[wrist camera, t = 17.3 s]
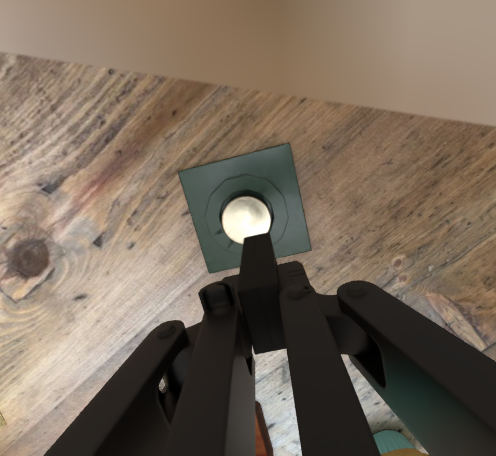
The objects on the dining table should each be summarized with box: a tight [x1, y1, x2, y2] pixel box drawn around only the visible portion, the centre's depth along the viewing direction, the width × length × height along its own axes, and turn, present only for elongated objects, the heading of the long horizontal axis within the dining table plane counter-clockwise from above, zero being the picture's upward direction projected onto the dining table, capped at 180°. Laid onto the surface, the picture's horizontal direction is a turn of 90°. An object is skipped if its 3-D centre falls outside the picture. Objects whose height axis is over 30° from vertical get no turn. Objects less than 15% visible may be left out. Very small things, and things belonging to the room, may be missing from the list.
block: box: [178, 143, 312, 274], centre depth 27 cm, size 10×10×2 cm
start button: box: [222, 193, 271, 244], centre depth 25 cm, size 4×4×2 cm
